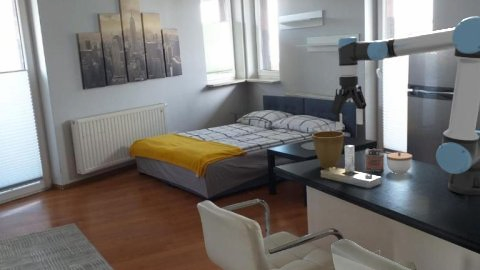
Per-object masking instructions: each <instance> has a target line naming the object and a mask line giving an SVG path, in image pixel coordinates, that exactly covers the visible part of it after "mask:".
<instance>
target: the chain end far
mask: <svg viewBox="0 0 480 270" xmlns="http://www.w3.org/2000/svg"><path fill="white" fill-rule="evenodd" d="M359 173H362V172H361V171H355V175H356V174H359ZM349 177H350V176H348V175H345V168H341V167H338V166H337V167H329V168H327V169H325V168H323V169H321V170H320V178H324V179H329V180H333V181H337V182H340V181H339V178H342V179H346V180H349Z"/></svg>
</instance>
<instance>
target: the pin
mask: <svg viewBox="0 0 480 270" xmlns="http://www.w3.org/2000/svg"><path fill="white" fill-rule="evenodd" d="M355 165H356V164H355V145H353V144H347V145H344V169H345V175H348V176H353V175H355V170H356V169H355Z"/></svg>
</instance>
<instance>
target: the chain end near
mask: <svg viewBox="0 0 480 270" xmlns="http://www.w3.org/2000/svg"><path fill="white" fill-rule="evenodd" d="M338 182H341V183H345V184H349V185H354V186H357V187H362V188H367V189H372V188H373V187H374V188H375V187H376V186H379V185H382V176H379V175H375V174H369V173H365V172H361V173H359V174H356V175H353V176H350V177H349V180H346V179H342V178H339V181H338Z"/></svg>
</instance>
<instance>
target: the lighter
mask: <svg viewBox="0 0 480 270" xmlns="http://www.w3.org/2000/svg"><path fill="white" fill-rule="evenodd" d="M384 157H385V155H384V154H383V149H382V148H381V149H380V148H379V149H378V148H372V149H368V151H367V153H365V171H366V170H367V171H368V172H374V171H383V172H384V171H385V169H384Z"/></svg>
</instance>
